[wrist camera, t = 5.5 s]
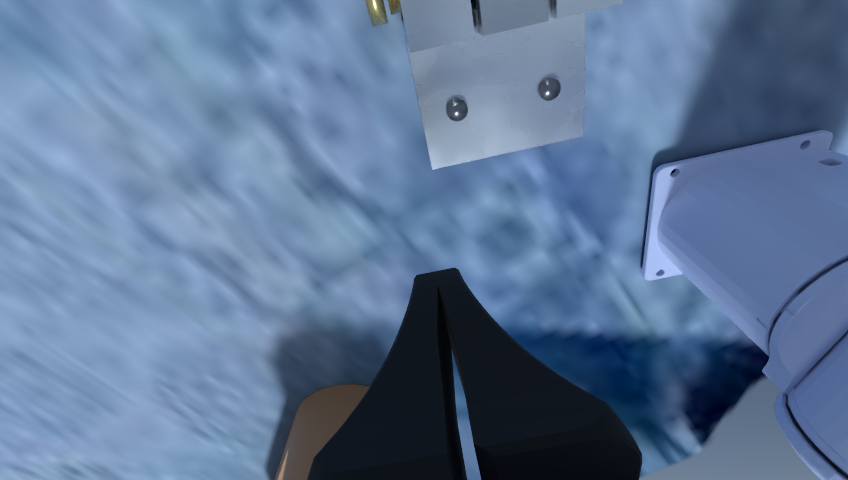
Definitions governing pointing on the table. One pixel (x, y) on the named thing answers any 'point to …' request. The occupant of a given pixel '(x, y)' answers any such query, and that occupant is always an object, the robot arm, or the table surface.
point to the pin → (381, 10)
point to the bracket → (316, 427)
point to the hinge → (497, 73)
